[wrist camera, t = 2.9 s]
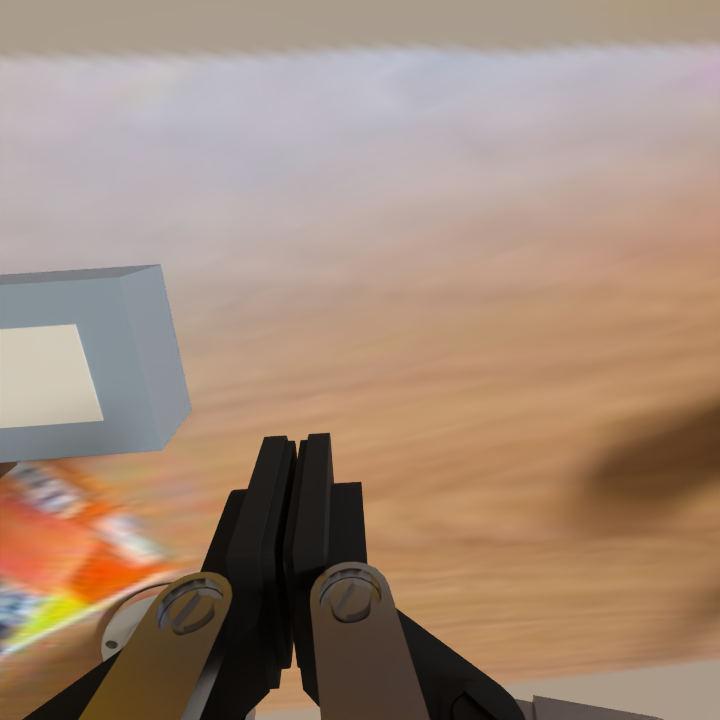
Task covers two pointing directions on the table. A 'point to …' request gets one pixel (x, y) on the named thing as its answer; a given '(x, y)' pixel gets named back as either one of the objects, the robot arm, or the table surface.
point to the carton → (88, 364)
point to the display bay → (6, 467)
